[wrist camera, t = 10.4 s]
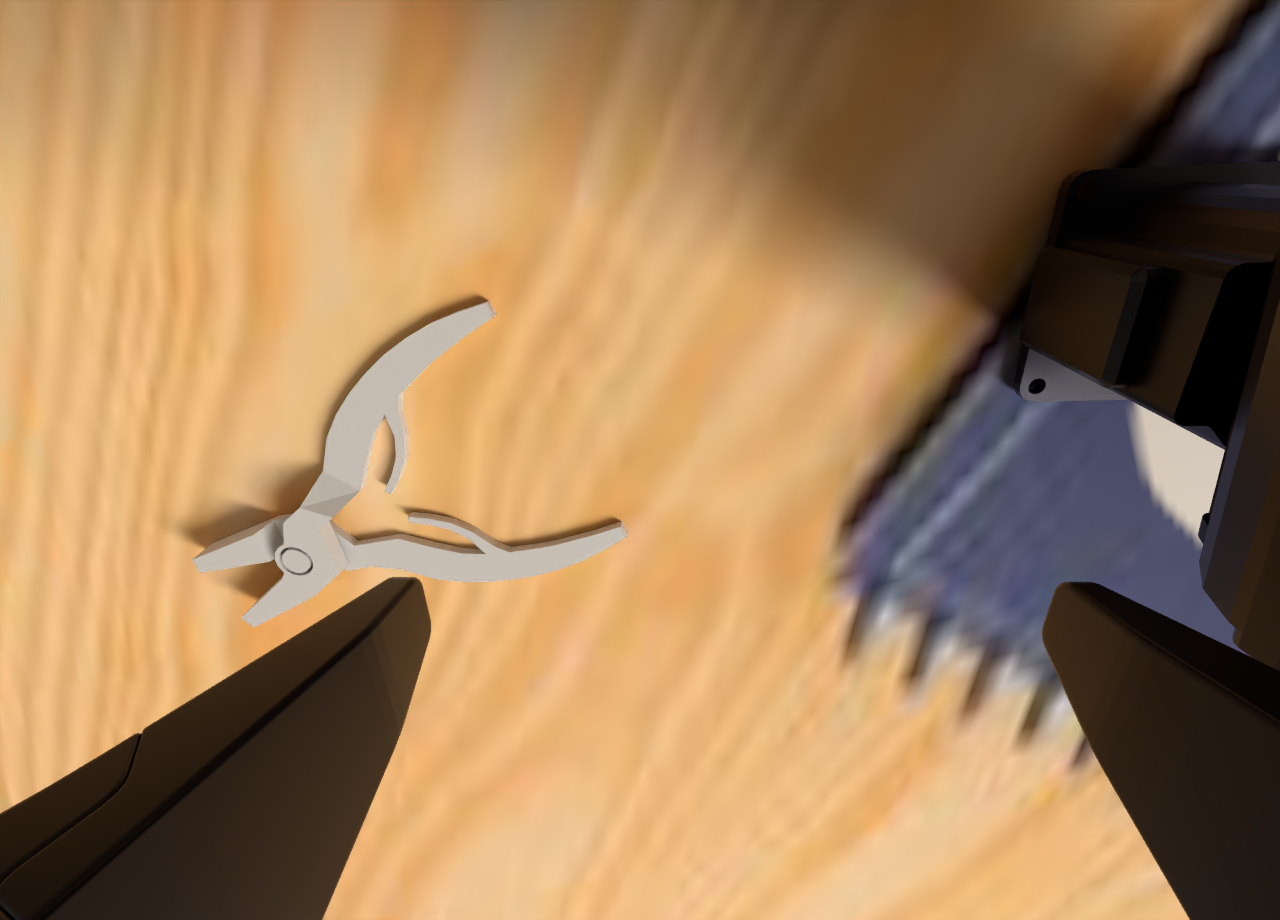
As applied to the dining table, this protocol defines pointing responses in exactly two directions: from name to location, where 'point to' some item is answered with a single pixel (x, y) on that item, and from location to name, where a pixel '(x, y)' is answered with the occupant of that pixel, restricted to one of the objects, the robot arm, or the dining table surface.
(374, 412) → the pliers
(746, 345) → the dining table surface
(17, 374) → the dining table surface
